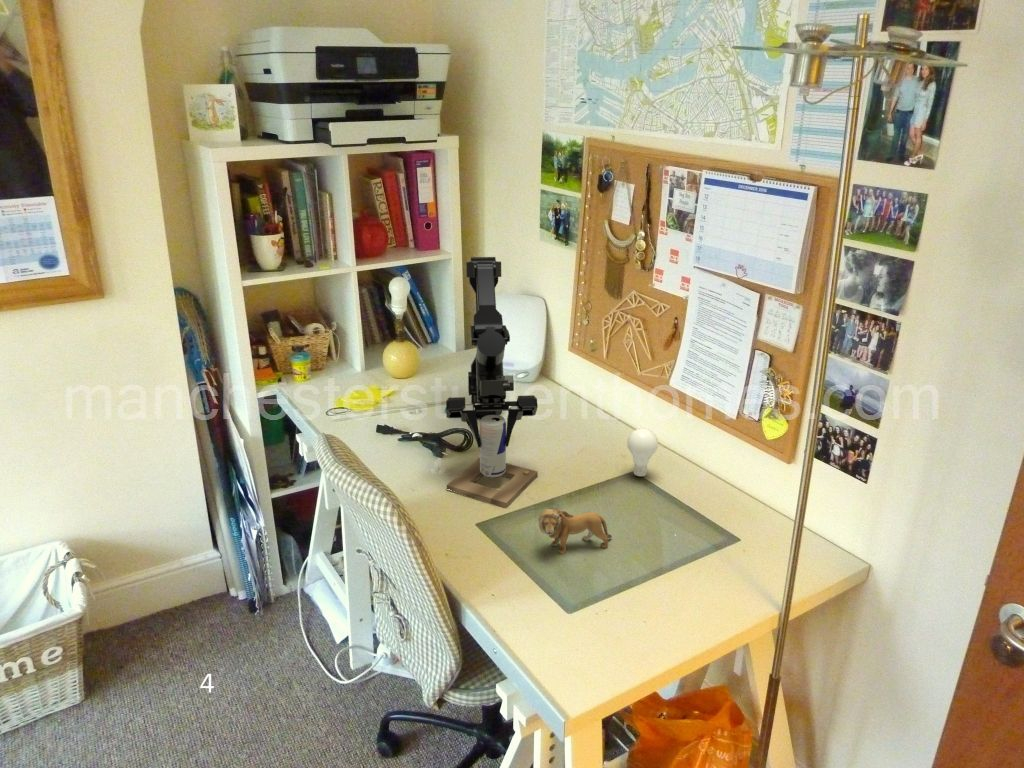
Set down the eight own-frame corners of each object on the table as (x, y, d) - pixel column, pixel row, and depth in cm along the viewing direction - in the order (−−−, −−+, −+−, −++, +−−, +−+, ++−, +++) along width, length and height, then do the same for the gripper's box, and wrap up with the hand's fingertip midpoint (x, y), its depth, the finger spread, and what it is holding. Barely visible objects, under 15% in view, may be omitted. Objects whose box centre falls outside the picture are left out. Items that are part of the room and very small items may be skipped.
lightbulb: (654, 484, 159) (658, 438, 154) (623, 481, 160) (627, 435, 155) (655, 470, 164) (659, 424, 160) (625, 466, 165) (629, 421, 161)
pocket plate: (446, 490, 156) (446, 483, 155) (480, 460, 167) (480, 454, 167) (506, 508, 150) (506, 501, 149) (537, 476, 161) (537, 470, 161)
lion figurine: (543, 563, 134) (545, 520, 130) (532, 546, 138) (533, 504, 135) (617, 546, 139) (620, 504, 135) (604, 530, 143) (607, 489, 140)
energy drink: (510, 469, 158) (511, 418, 154) (496, 480, 154) (496, 428, 149) (489, 462, 161) (489, 412, 156) (475, 473, 157) (474, 421, 152)
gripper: (445, 361, 151) (446, 436, 146) (537, 359, 153) (542, 433, 147) (445, 381, 161) (447, 452, 156) (532, 379, 163) (537, 449, 157)
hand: (493, 446), depth 154 cm, fingers closed on energy drink, 5 cm apart
